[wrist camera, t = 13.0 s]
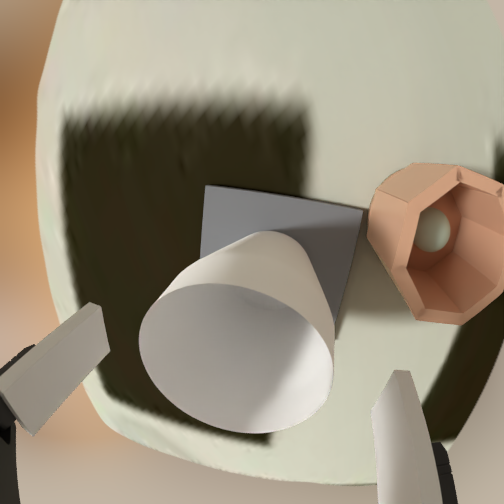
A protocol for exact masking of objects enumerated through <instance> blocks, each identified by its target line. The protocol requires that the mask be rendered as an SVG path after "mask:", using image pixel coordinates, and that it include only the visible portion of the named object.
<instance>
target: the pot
mask: <svg viewBox="0 0 504 504" xmlns="http://www.w3.org/2000/svg"><path fill="white" fill-rule="evenodd" d="M427 207H433V208H436V209H438V210H440V211H442V212H443V213H444V214H445V216H446V217H447V219H448V221H449V224H450V237H449V240H448V242H447V243H446V245H445V246H444V247H443V248H442V249H440V250H438V251H436V252H426V251H423V250H421V249H419V248H418V247H417V246H416V245H415V244H414V242H413V241H414V237H415V233H416V229H417V224H418V220H419V215H420V212H421V211H423V210H424V209H425V208H427ZM367 227H368V231H367V235H366V237H367V239H368V240H369V242H370V244H371V245H372V247H373V249H374V251H375V253H376V254H377V256H378V257H379V259H380V261H381V262H382V264H383V266H384V267H385V269H386V271H387V273H388V274H389V276H390V278H391V279H392V281H393V282H394V284H395V286H396V287H397V289H398V290H399V292H400V294H401V295H402V297H403V299H404V300H405V302H406V304H407V305H408V307H409V309H410V310H411V312H412V314H413V316H414V317H415V319H416V320H419V321H428V322H436V323H445V324H454V325H463V324H464V323H465V322H467V321H468V320H469V319H471V318H472V317H473V316H475V315H476V314H477V313H478V312H480V311H481V310H482V309H484V308H485V307H486V306H487V305H488V304H490V303H491V302H492V301H493V300H494V299H496V298H497V297H498V296H499V295H500V294H501V293H502V292H503V290H504V185H503V184H501V183H499V182H497V181H495V180H493V179H490V178H488V177H486V176H483V175H481V174H479V173H476V172H474V171H471V170H469V169H466V168H463V167H461V166H458V165H446V164H429V163H412V164H410V165H409V166H407V167H406V168H404V169H401V170H399V171H396V172H395V173H393V174H391V175H390V176H389V177H388V178H386V179H385V180H384V181H383V182H382V183H381V185H380V186H379V187H378V188H376V190H375V194H374V196H373V198H372V201H371V203H370V207H369V211H368V218H367Z"/></svg>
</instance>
